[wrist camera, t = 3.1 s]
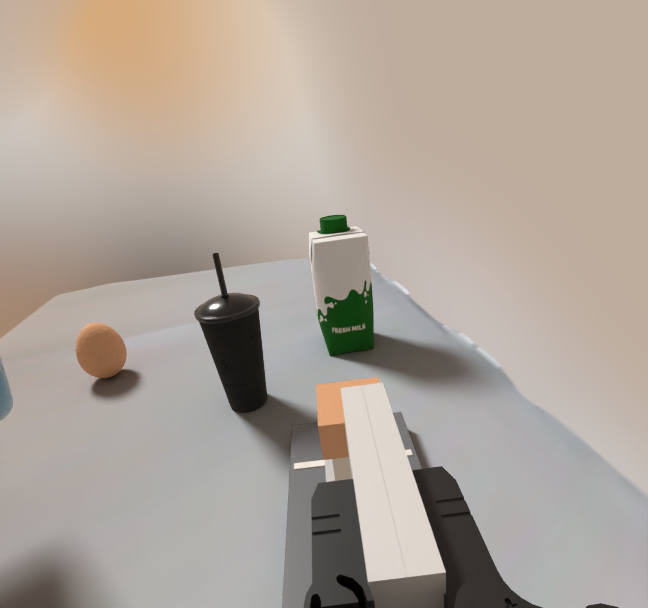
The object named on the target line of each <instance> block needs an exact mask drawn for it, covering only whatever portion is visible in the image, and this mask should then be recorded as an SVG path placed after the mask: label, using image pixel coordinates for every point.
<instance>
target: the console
mask: <svg viewBox="0 0 648 608" xmlns="http://www.w3.org/2000/svg"><path fill="white" fill-rule="evenodd" d="M393 415H394V418H395V421H396V424H397V427H398V430H399V433H400V436H401V439H402V442H403V445H404V448H405V451H406V454H407V457H408V460H409V463H410V466H411V469H412V470H417V469H422V467H421V465H420V462H419V459H418V456H417V454H416V451H415V448H414V446H413V443H412V440H411V437H410V435H409V432H408V429H407V426H406V424H405V421H404V418H403V415H402V413H401V412H398V413H393ZM330 481H335V476H334V469H333V461H332V459H329V460H323V456H322V450H321V443H320V436H319V430H318V422H315V423H307V424H299V425H292V438H291V456H290V474H289V493H288V511H287V530H286V548H285V566H284V585H283V603H282V608H303V607H304V602H305V596H306V593H307V591H308V590H309V588H310V586H311V584H312V523H311V521H312V518H311V499H312V496H313V494H314V492H315V489H316V487H317V485H318V483H322V482H330Z"/></svg>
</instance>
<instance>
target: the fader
mask: <svg viewBox="0 0 648 608" xmlns="http://www.w3.org/2000/svg"><path fill="white" fill-rule="evenodd" d="M375 383H380V382H379V378H378V377H376V378H368V379H359V380H351V381H343V382H335V383H327V384H318V385H316V389H317V414H318V430H319V436H320V443H321V450H322V456H323V460H329V459H332V461H333V469H334V476H335V481H338V480H346V479H352V474H351V467H350V460H349V453H348V445H347V437H346V429H345V421H344V413H343V405H342V397H341V388H344V387H352V386H359V385H367V384H375Z"/></svg>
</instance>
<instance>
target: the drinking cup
mask: <svg viewBox="0 0 648 608" xmlns="http://www.w3.org/2000/svg"><path fill="white" fill-rule="evenodd" d="M213 259H214V263H215V268H216V272H217V276H218V281H219V285H220V290H221V294H222V295H219V296H216V297H214V298H212V299H210V300H208V301H207V302H205V303H204V304H202V305H200V306H199V307H198V308H197V309H196V310H195V313H194V315H195V318H196V319H197V320H198V321H199V322H200V325H201V328H202V330H203V333H204V336H205V338H206V341H207V344H208V347H209V349H210V352H211V355H212V357H213V360H214V363H215V365H216V368H217V371H218V374H219V376H220V379H221V382H222V384H223V387H224V390H225V392H226V395H227V398H228V400H229V403H230V406H231V408H232V409H233V410H234V411H236V412H250V411H254V410H256V409H258V408H260V407H261V406H262V405H264V403H265V402H266V400H267V391H266V381H265V370H264V360H263V350H262V340H261V330H260V320H259V310H258V308H259V306H260V301H259V299H258V298H257V297H256V296H253V295H248V294H242V293H227V289H226V285H225V280H224V276H223V271H222V267H221V262H220V258H219V253H214V254H213Z"/></svg>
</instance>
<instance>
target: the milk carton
mask: <svg viewBox="0 0 648 608" xmlns="http://www.w3.org/2000/svg"><path fill="white" fill-rule="evenodd" d="M320 227H321V230H320V231H317V232H310V233H309V256H310V263H311V271H312V279H313V287H314V294H315V302H316V309H317V315H318V320H319V323H320V327H321V330H322V333H323V336H324V339H325V342H326V345H327V348H328V351H329V354H330V356H331V355H337V354H343V353H349V352H355V351H361V350H367V349H373V348H374V342H373V298H372V284H371V270H370V260H369V248H368V236H367V235H366V234H365V233H364V231H363V230H361V229H359V228H358V227H357V226H353V227H347V220H346V216H345V215H332V216H326V217H323V218H320Z"/></svg>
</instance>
